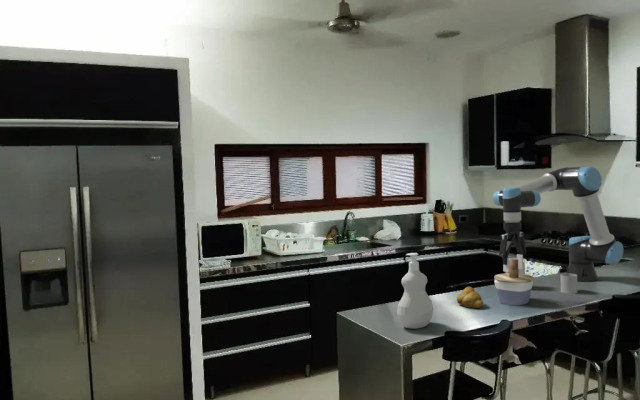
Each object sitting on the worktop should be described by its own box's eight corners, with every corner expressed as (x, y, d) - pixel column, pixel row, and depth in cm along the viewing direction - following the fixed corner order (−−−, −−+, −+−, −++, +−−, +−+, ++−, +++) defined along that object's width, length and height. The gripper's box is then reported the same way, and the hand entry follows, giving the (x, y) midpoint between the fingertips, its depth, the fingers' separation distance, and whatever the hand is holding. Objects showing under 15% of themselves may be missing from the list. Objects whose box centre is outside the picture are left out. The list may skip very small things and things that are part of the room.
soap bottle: (419, 318, 206) (417, 249, 205) (441, 324, 197) (438, 252, 196) (390, 327, 197) (388, 254, 195) (411, 334, 187) (409, 257, 186)
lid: (509, 273, 236) (509, 255, 235) (542, 278, 222) (541, 259, 221) (486, 278, 227) (486, 259, 226) (518, 284, 212) (518, 264, 212)
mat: (548, 292, 240) (548, 291, 240) (593, 300, 222) (593, 299, 222) (525, 298, 231) (525, 297, 231) (570, 308, 212) (570, 306, 212)
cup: (557, 293, 238) (557, 274, 238) (568, 289, 244) (568, 271, 244) (572, 295, 232) (572, 277, 232) (583, 292, 238) (583, 273, 238)
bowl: (505, 296, 236) (504, 274, 235) (537, 301, 225) (537, 277, 224) (490, 303, 225) (490, 279, 224) (524, 309, 214) (523, 283, 213)
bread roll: (488, 308, 217) (487, 290, 217) (469, 311, 214) (468, 293, 214) (471, 301, 230) (470, 284, 229) (453, 304, 227) (452, 287, 226)
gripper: (520, 219, 232) (521, 265, 233) (489, 223, 220) (490, 272, 221) (534, 219, 226) (535, 268, 227) (503, 224, 214) (504, 274, 215)
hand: (513, 270), depth 224 cm, fingers open, 9 cm apart
